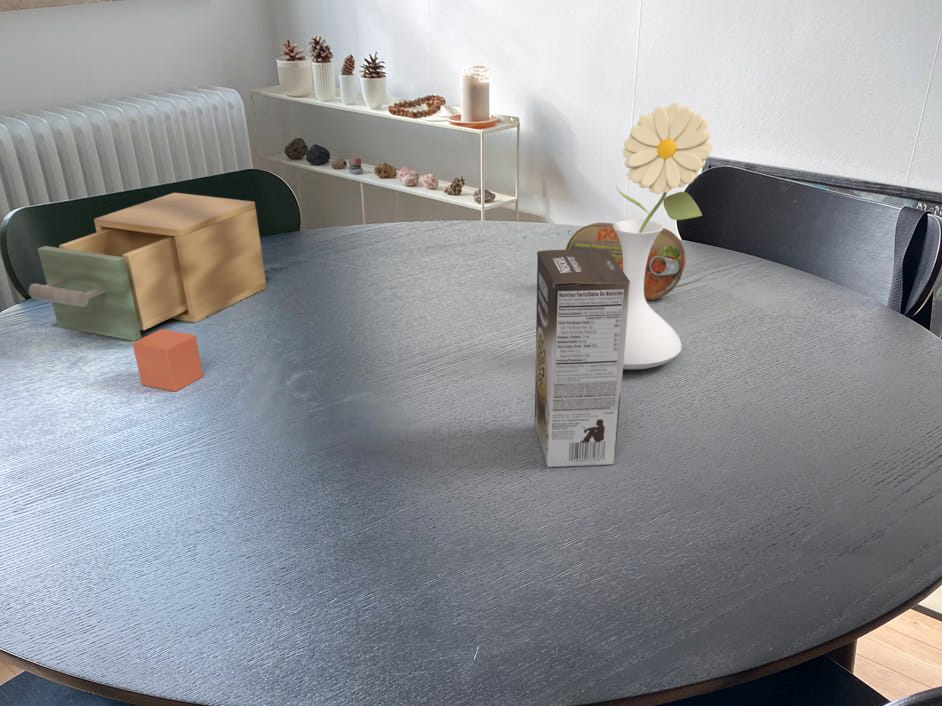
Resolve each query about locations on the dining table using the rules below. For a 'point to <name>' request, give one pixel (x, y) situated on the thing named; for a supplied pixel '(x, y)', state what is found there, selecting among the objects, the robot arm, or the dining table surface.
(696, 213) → the flower in vase
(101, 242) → the drawer
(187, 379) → the block
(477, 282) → the dining table surface
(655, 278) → the tin
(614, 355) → the coffee box
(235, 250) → the cabinet
